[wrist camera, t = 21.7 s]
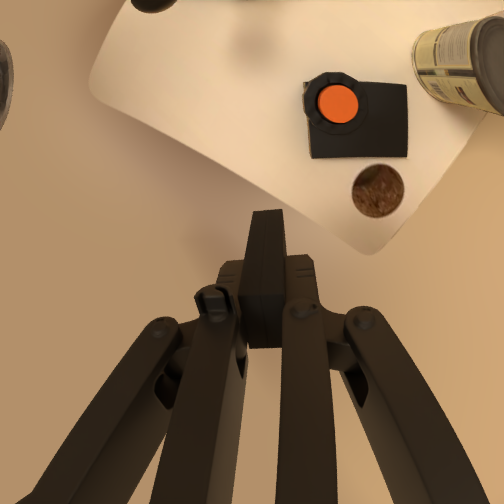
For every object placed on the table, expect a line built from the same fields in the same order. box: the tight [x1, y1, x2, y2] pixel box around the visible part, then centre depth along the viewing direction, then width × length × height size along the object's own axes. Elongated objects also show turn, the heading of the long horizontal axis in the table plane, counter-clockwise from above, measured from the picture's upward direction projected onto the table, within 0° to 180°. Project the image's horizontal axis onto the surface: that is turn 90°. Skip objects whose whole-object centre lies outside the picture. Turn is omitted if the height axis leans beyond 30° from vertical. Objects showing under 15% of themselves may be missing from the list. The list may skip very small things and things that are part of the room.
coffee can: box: [412, 16, 504, 116], centre depth 19 cm, size 10×10×14 cm
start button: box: [318, 85, 358, 123], centre depth 26 cm, size 4×4×2 cm
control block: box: [302, 72, 408, 159], centre depth 29 cm, size 12×10×4 cm
